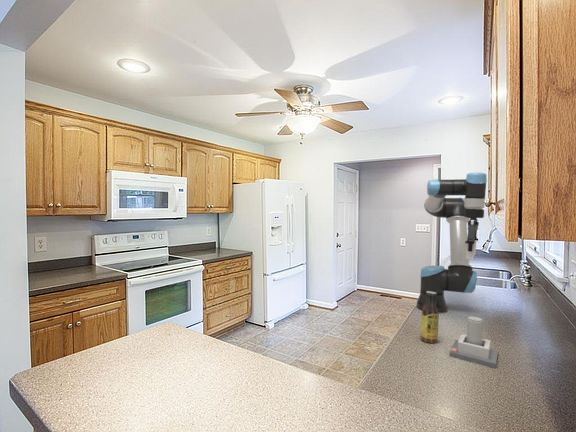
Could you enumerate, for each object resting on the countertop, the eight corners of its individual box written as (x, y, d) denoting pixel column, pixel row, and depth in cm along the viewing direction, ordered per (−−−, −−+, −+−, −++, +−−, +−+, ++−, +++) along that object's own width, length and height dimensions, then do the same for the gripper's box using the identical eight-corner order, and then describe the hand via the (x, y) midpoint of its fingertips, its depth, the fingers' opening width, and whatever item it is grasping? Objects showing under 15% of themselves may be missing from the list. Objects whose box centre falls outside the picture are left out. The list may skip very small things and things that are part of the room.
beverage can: (467, 346, 117) (468, 315, 117) (482, 350, 114) (483, 318, 114) (465, 351, 113) (466, 318, 113) (481, 355, 110) (481, 321, 110)
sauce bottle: (428, 344, 122) (429, 294, 122) (417, 338, 128) (418, 290, 128) (441, 343, 124) (442, 293, 123) (430, 337, 130) (431, 290, 129)
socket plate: (455, 343, 123) (456, 331, 123) (497, 353, 115) (498, 340, 115) (449, 356, 112) (449, 342, 112) (495, 368, 104) (496, 353, 104)
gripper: (483, 209, 121) (479, 262, 123) (485, 208, 142) (482, 254, 143) (461, 208, 126) (458, 259, 127) (466, 208, 146) (463, 252, 147)
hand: (470, 256), depth 135 cm, fingers open, 13 cm apart
